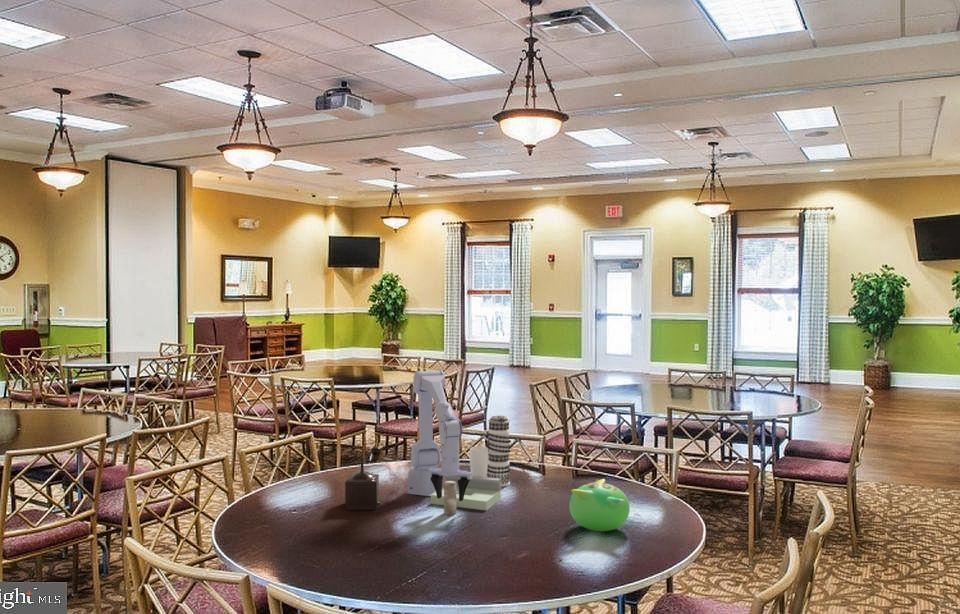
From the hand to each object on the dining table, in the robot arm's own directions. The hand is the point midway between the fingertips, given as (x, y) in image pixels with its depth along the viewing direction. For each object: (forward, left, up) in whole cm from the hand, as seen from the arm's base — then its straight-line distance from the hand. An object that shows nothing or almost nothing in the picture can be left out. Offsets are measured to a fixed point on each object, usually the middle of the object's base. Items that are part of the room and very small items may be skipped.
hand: (450, 499), depth 236 cm
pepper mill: (-31, -1, -5) cm, 31 cm away
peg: (0, 0, -5) cm, 5 cm away
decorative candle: (+3, +39, -5) cm, 40 cm away
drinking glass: (-1, +29, -5) cm, 30 cm away
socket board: (0, +14, -5) cm, 15 cm away
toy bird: (+48, +2, -5) cm, 48 cm away
